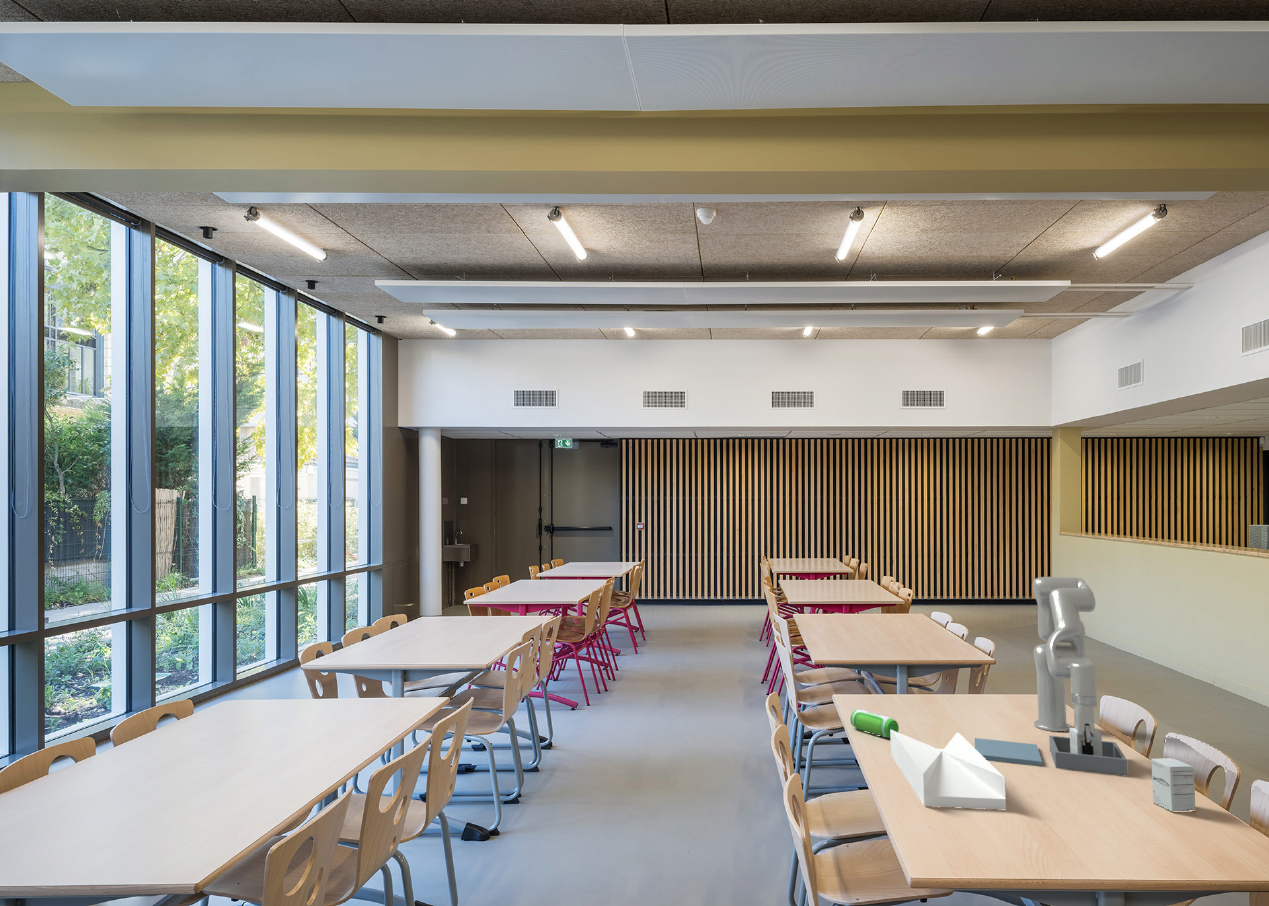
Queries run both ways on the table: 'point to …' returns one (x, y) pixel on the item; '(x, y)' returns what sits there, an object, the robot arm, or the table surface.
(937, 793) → the building model
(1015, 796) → the table surface
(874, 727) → the speaker
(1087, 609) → the robot arm
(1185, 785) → the supplement box
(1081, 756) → the rectangular frame
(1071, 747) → the small box
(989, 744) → the board
